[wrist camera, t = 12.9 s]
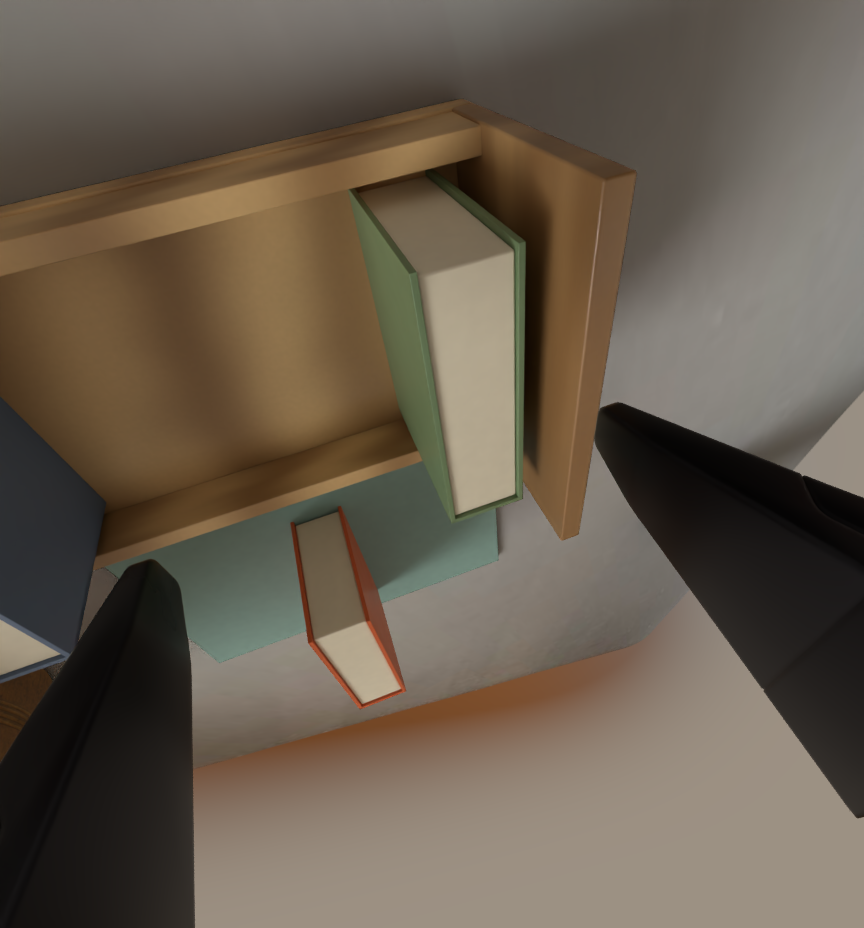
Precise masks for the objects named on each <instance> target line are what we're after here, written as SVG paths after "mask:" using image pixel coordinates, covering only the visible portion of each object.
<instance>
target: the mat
mask: <svg viewBox="0 0 864 928" xmlns="http://www.w3.org/2000/svg"><path fill="white" fill-rule="evenodd" d="M338 506H341V507H342V510H343V512H344V514H345V516H346V519H347V521H348V523H349V526H350V528H351V530H352V532H353V535H354V537H355V539H356V542H357V544H358V546H359V548H360V551H361V553H362V555H363V557H364V560H365V562H366V564H367V567H368V569H369V571H370V573H371V576H372V578H373V580H374V583H375V585H376V587H377V589H378V593H379V596H380V600H381V603H384V602H386V601H389V600H392V599H395V598H397V597H400V596H403V595H405V594H408V593H411V592H414V591H416V590H419V589H422V588H424V587H427V586H430V585H433V584H435V583H438V582H441V581H443V580H446V579H449V578H452V577H454V576H457V575H460V574H462V573H465V572H468V571H471V570H473V569H476V568H479V567H481V566H484V565H487V564H490V563H492V562H495V561H498V542H497V524H496V508H495V509H493V510H490V511H487V512H484V513H481V514H478V515H476V516H473V517H470V518H467V519H464V520H461V521H459V522H456V523H453V524H451V522H450V520H449V518H448V515H447V513H446V511H445V509H444V507H443V504H442V502H441V500H440V498H439V496H438V493H437V491H436V489H435V487H434V485H433V482H432V480H431V478H430V476H429V474H428V471H427V469H426V467H425V465H424V463H423V461H421V462H418V463H415V464H412V465H409V466H406V467H403V468H400V469H397V470H394V471H391V472H388V473H385V474H382V475H379V476H376V477H373V478H370V479H367V480H364V481H361V482H358V483H355V484H352V485H349V486H346V487H343V488H340V489H337V490H334V491H331V492H328V493H325V494H322V495H319V496H316V497H313V498H310V499H307V500H304V501H301V502H298V503H295V504H292V505H289V506H286V507H283V508H280V509H277V510H274V511H271V512H268V513H265V514H262V515H259V516H256V517H253V518H250V519H247V520H244V521H241V522H238V523H235V524H232V525H229V526H226V527H223V528H220V529H217V530H214V531H211V532H208V533H205V534H202V535H199V536H196V537H193V538H190V539H187V540H184V541H181V542H178V543H175V544H172V545H169V546H166V547H163V548H160V549H157V550H154V551H151V552H148V553H145V554H141V555H138V556H135V557H132V558H129V559H126V560H123V561H120V562H117V563H114V564H111V565H108V566H105V568H106V569H108V570H109V571H110V572H111V573H112V574H114V575H115V576H116V577H117V578H118V579H120V577H121V575H122V574H123V572H124V571H125V570H126V568H127V567H128V566H130V565H132V564H135V563H138V562H141V561H144V560H147V559H154V560H156V561H157V562H159V563H160V564H161V565H162V566H163V567H164V568H165V569H166V570H167V571H168V572H169V573H170V574H171V575H172V576H173V577H174V578H175V579H176V580H177V582H178V584H179V586H180V589H181V594H182V601H183V608H184V616H185V623H186V630H187V636H188V637H189V638H190V639H191V640H192V641H194V642H195V643H196V644H197V645H198V646H200V647H201V648H202V649H203V650H204V651H205V652H207V653H208V654H209V655H210V656H211V657H213V658H214V659H215V660H216V661H217V662H219V663H221V662H224V661H226V660H229V659H232V658H234V657H237V656H240V655H243V654H245V653H248V652H251V651H253V650H256V649H259V648H262V647H264V646H267V645H270V644H272V643H275V642H278V641H281V640H283V639H286V638H289V637H291V636H294V635H297V634H300V633H302V632H305V631H306V624H305V618H304V611H303V604H302V598H301V591H300V584H299V578H298V571H297V565H296V558H295V551H294V545H293V538H292V532H291V525H290V523H291V522H294V524H295V525H296V526H297V525H300V524H303V523H306V522H309V521H312V520H315V519H318V518H321V517H324V516H326V515H329V514H332V513H335V512H339V511H338Z"/></svg>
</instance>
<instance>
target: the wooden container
mask: <svg viewBox="0 0 864 928" xmlns="http://www.w3.org/2000/svg"><path fill="white" fill-rule="evenodd" d="M51 683H52V679H51V677H50V676H49V674H48V673H47V672H46V671H45V670H44V668H43V669H40V670H37V671H34V672H31V673H28V674H26V675H23V676H20V677H17V678H14V679H11V680H9V681H6V682H3V683H0V762H1V760H2V759H3V757H4V756H5V754H6V752H7V751H8V749H9V748H10V746H11V745H12V743H13V742H14V740H15V739H16V737H17V736H18V734H19V732H20V731H21V729H22V728H23V726H24V725H25V723H26V722H27V720H28V719H29V717H30V716H31V714H32V712H33V711H34V709H35V708H36V706H37V705H38V703H39V702H40V700H41V699H42V697H43V696H44V694H45V692H46V691H47V689H48V688H49V686H50V685H51Z"/></svg>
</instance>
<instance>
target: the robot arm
mask: <svg viewBox="0 0 864 928" xmlns="http://www.w3.org/2000/svg"><path fill="white" fill-rule="evenodd" d="M594 441H595V444H596V447H597V449H598V451H599V452H600V454H601V456H602V458H603V460H604V461H605V463H606V465H607V467H608V468H609V470H610V472H611V474H612V476H613V477H614V479H615V481H616V483H617V484H618V486H619V488H620V490H621V492H622V493H623V495H624V497H625V498H626V500H627V502H628V503H629V505H630V507H631V508H632V509H633V511H634V512H635V514H636V515H637V517H638V518H639V519H640V521H641V522H642V523H643V525H644V526H645V528H646V529H647V530H648V532H649V533H650V535H651V536H652V537H653V539H654V540H655V541H656V543H657V544H658V546H659V547H660V548H661V550H662V551H663V552H664V554H665V555H666V557H667V558H668V559H669V561H670V562H671V564H672V565H673V566H674V568H675V569H676V570H677V572H678V573H679V575H680V576H681V577H682V579H683V580H684V581H685V583H686V584H687V586H688V587H689V588H690V590H691V591H692V593H693V594H694V595H695V597H696V598H697V599H698V601H699V602H700V603H701V605H702V606H703V608H704V609H705V610H706V612H707V613H708V615H709V616H710V617H711V619H712V620H713V622H714V623H715V624H716V626H717V627H718V628H719V630H720V631H721V633H722V634H723V635H724V637H725V638H726V639H727V641H728V642H729V644H730V645H731V646H732V648H733V649H734V651H735V652H736V653H737V655H738V656H739V657H740V659H741V660H742V662H743V663H744V664H745V666H746V667H747V668H748V670H749V671H750V673H751V674H752V675H753V677H754V678H755V679H756V681H757V682H758V684H759V685H760V686H761V688H763V689H764V692H765V694H766V695H767V696H768V698H769V699H770V701H771V702H772V703H773V705H774V706H775V708H776V709H777V710H778V712H779V713H780V715H781V716H782V717H783V719H784V720H785V721H786V723H787V724H788V725H789V727H790V728H791V729H792V731H793V732H794V734H795V735H796V737H797V738H798V739H799V741H800V742H801V743H802V745H803V746H804V748H805V749H806V750H807V752H808V753H809V754H810V756H811V757H812V759H813V760H814V761H815V762H816V764H817V766H818V767H819V768H820V770H821V771H822V772H823V774H824V775H825V777H826V778H827V779H828V781H829V782H830V784H831V785H832V786H833V788H834V789H835V790H836V792H837V793H838V795H839V796H840V797H841V799H842V800H843V801H844V803H845V804H846V805H847V807H848V808H849V809H850V811H851V812H852V813H853V814H854V815H855V817H856V818H861V817H864V498H863V497H860V496H857V495H855V494H852V493H849V492H847V491H844V490H841V489H839V488H836V487H833V486H831V485H828V484H826V483H823V482H820V481H818V480H815V479H812V478H810V477H808V476H802V475H801V474H800V473H797V472H795V471H792V470H790V469H787V468H785V467H782V466H780V465H777V464H775V463H772V462H770V461H767V460H765V459H762V458H760V457H757V456H755V455H752V454H750V453H747V452H745V451H742V450H739V449H737V448H734V447H732V446H729V445H727V444H724V443H722V442H719V441H717V440H714V439H712V438H709V437H707V436H704V435H702V434H699V433H697V432H694V431H692V430H689V429H687V428H684V427H681V426H679V425H676V424H674V423H671V422H669V421H666V420H664V419H661V418H659V417H656V416H654V415H651V414H649V413H646V412H644V411H641V410H639V409H636V408H634V407H631V406H629V405H626V404H623V403H619V402H617V403H613V404H610V405H607V406H604V407H602V408H600V410H599V411H598V415H597V421H596V428H595V434H594ZM193 824H194V823H193V745H192V675H191V660H190V651H189V644H188V637H187V630H186V623H185V616H184V608H183V601H182V594H181V589H180V586H179V584H178V582H177V580H176V579H175V578H174V577H173V576H172V575H171V574H170V573H169V572H168V571H167V570H166V569H165V568H164V567H163V566H162V565H161V564H160V563H159V562H157V561H156V560H154V559H147V560H144V561H141V562H138V563H135V564H132V565H130V566H128V567H127V568H126V570H125V571H124V572H123V574H122V575H121V577H120V579H119V580H118V582H117V583H116V585H115V586H114V588H113V589H112V591H111V592H110V594H109V595H108V597H107V599H106V600H105V602H104V603H103V605H102V606H101V608H100V609H99V611H98V612H97V614H96V615H95V617H94V619H93V620H92V622H91V623H90V625H89V626H88V628H87V629H86V631H85V632H84V634H83V635H82V637H81V639H80V640H79V642H78V643H77V645H76V646H75V648H74V649H73V651H72V652H71V654H70V655H69V657H68V659H67V660H66V662H65V663H64V665H63V666H62V668H61V669H60V671H59V672H58V674H57V675H56V677H55V679H54V680H53V682H52V683H51V685H50V686H49V688H48V689H47V691H46V692H45V694H44V696H43V697H42V699H41V700H40V702H39V703H38V705H37V706H36V708H35V709H34V711H33V712H32V714H31V716H30V717H29V719H28V720H27V722H26V723H25V725H24V726H23V728H22V729H21V731H20V732H19V734H18V736H17V737H16V739H15V740H14V742H13V743H12V745H11V746H10V748H9V749H8V751H7V752H6V754H5V756H4V757H3V759H2V760H1V762H0V928H195V900H194V825H193Z"/></svg>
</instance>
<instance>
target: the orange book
mask: <svg viewBox="0 0 864 928" xmlns="http://www.w3.org/2000/svg"><path fill="white" fill-rule="evenodd" d="M338 511H339V512H335V513H332V514H329V515H326V516H324V517H321V518H318V519H315V520H312V521H309V522H306V523H303V524H300V525H297V526H296V525H295V524H294V522H291V523H290V525H291V532H292V538H293V545H294V551H295V558H296V565H297V571H298V578H299V584H300V591H301V598H302V604H303V611H304V618H305V624H306V631H307V637H308V643H309V645H310V646H311V647H312V649H313V650H314V651H315V652H316V654H317V655H318V656H319V658H320V659H321V660H322V661H323V663H324V664H325V665H326V666H327V668H328V669H329V670H330V672H331V673H332V674H333V675H334V677H335V678H336V679H337V681H338V682H339V683H340V684H341V686H342V687H343V688H344V689H345V691H346V692H347V693H348V695H349V696H350V697H351V698H352V700H353V701H354V702H355V704H356V705H357V706H358V707H359V709H362V708H365V707H367V706H370V705H372V704H375V703H378V702H380V701H383V700H385V699H388V698H390V697H393V696H395V695H398V694H400V693H403V692H405V691H406V689H405V685H404V682H403V678H402V675H401V671H400V667H399V664H398V660H397V657H396V653H395V650H394V646H393V643H392V639H391V635H390V632H389V628H388V625H387V621H386V618H385V614H384V611H383V607H382V603H381V600H380V596H379V593H378V589H377V587H376V585H375V583H374V580H373V578H372V576H371V573H370V571H369V569H368V567H367V564H366V562H365V560H364V557H363V555H362V553H361V551H360V548H359V546H358V544H357V542H356V539H355V537H354V535H353V532H352V530H351V528H350V526H349V523H348V521H347V519H346V516H345V514H344V512H343V510H342V507H341V506H338Z"/></svg>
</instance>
